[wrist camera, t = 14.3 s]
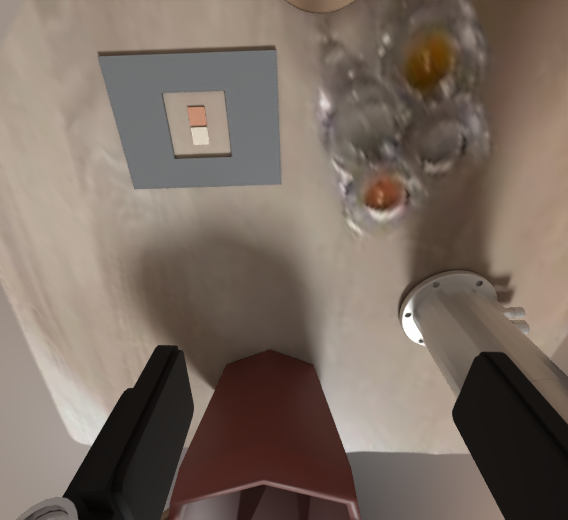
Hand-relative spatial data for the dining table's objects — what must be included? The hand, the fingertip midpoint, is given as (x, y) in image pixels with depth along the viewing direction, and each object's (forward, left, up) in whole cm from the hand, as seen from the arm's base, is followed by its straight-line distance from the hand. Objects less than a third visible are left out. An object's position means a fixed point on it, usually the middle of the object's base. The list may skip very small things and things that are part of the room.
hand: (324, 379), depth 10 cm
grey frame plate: (+9, -6, -26) cm, 28 cm away
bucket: (+4, +34, -26) cm, 43 cm away
